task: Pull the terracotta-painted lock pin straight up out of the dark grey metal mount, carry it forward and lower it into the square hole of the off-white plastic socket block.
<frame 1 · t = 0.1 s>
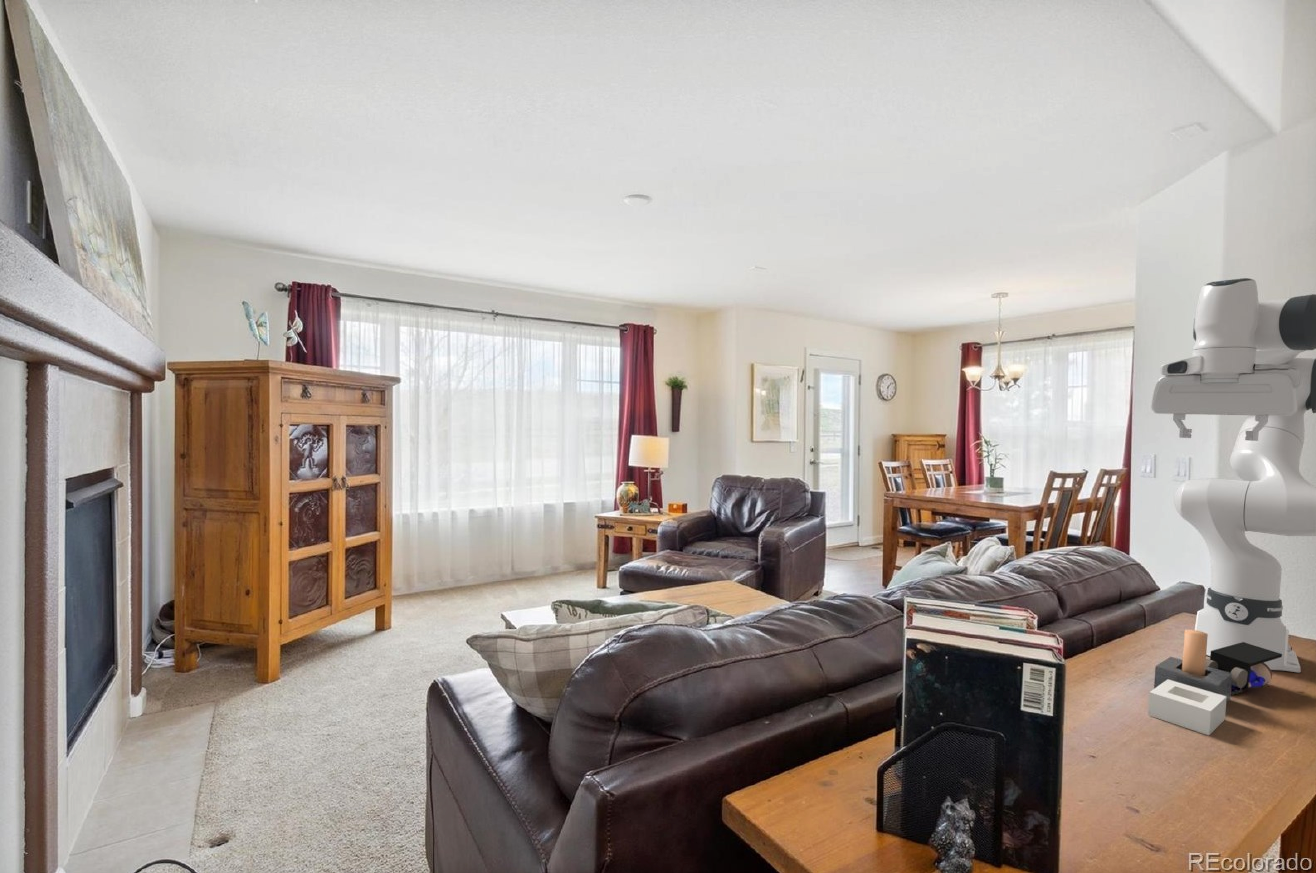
hand: (1217, 439, 116), 48 cm above the table, tool pointing down, fingers open, 8 cm apart
mount: (1191, 696, 114), on the table
socket block: (1186, 717, 106), on the table
lock pin: (1193, 664, 114), in the mount
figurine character: (1239, 689, 120), on the table
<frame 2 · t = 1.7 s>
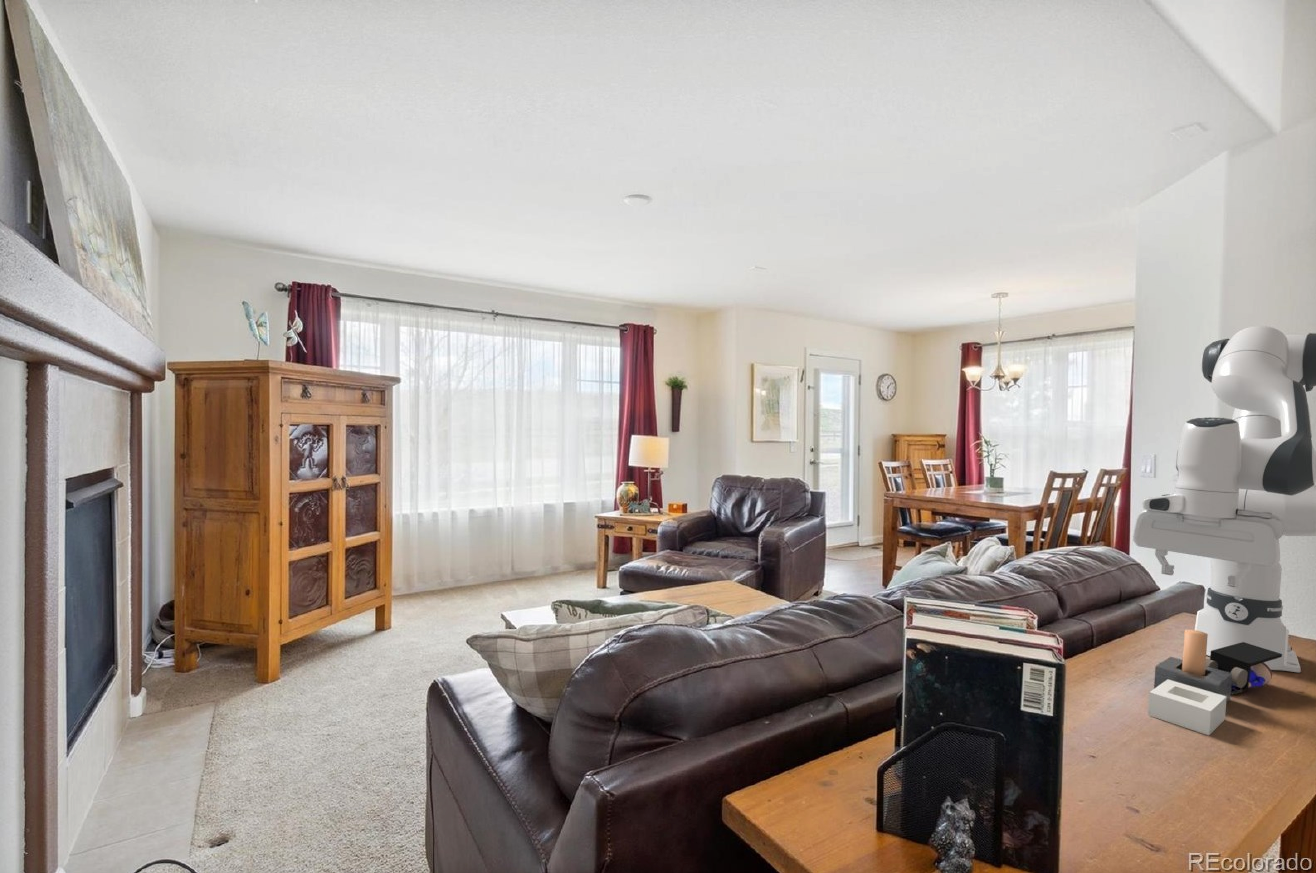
hand: (1199, 580, 114), 22 cm above the table, tool pointing down, fingers open, 8 cm apart
nothing on the table moved.
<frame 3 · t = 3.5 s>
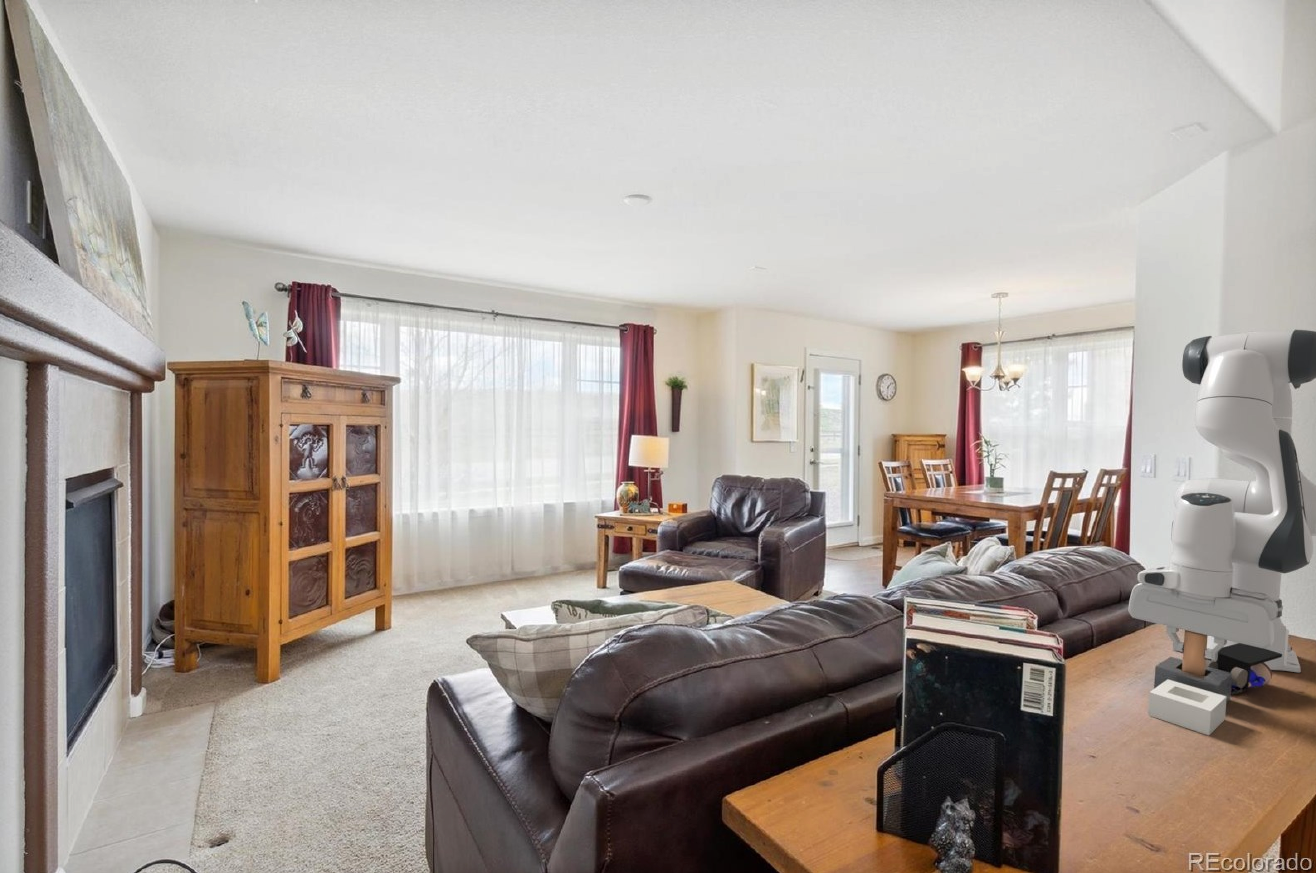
hand: (1194, 655, 114), 8 cm above the table, tool pointing down, fingers closed on lock pin, 3 cm apart
lock pin: (1193, 664, 114), in the mount, touching gripper
everything else where it was.
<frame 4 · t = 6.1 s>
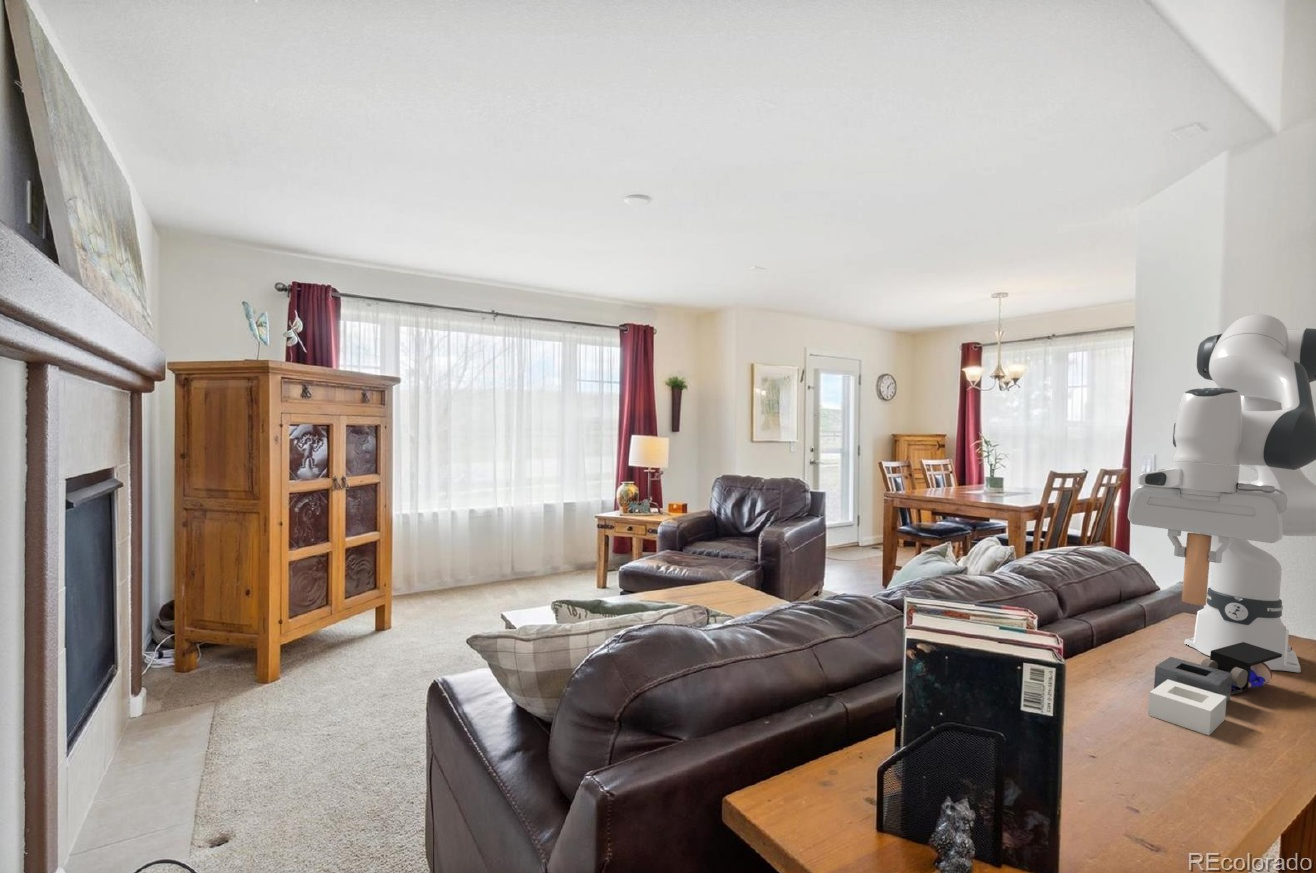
hand: (1197, 559, 108), 27 cm above the table, tool pointing down, fingers closed on lock pin, 3 cm apart
lock pin: (1196, 568, 108), point 25 cm above the table, touching gripper
everything else where it was.
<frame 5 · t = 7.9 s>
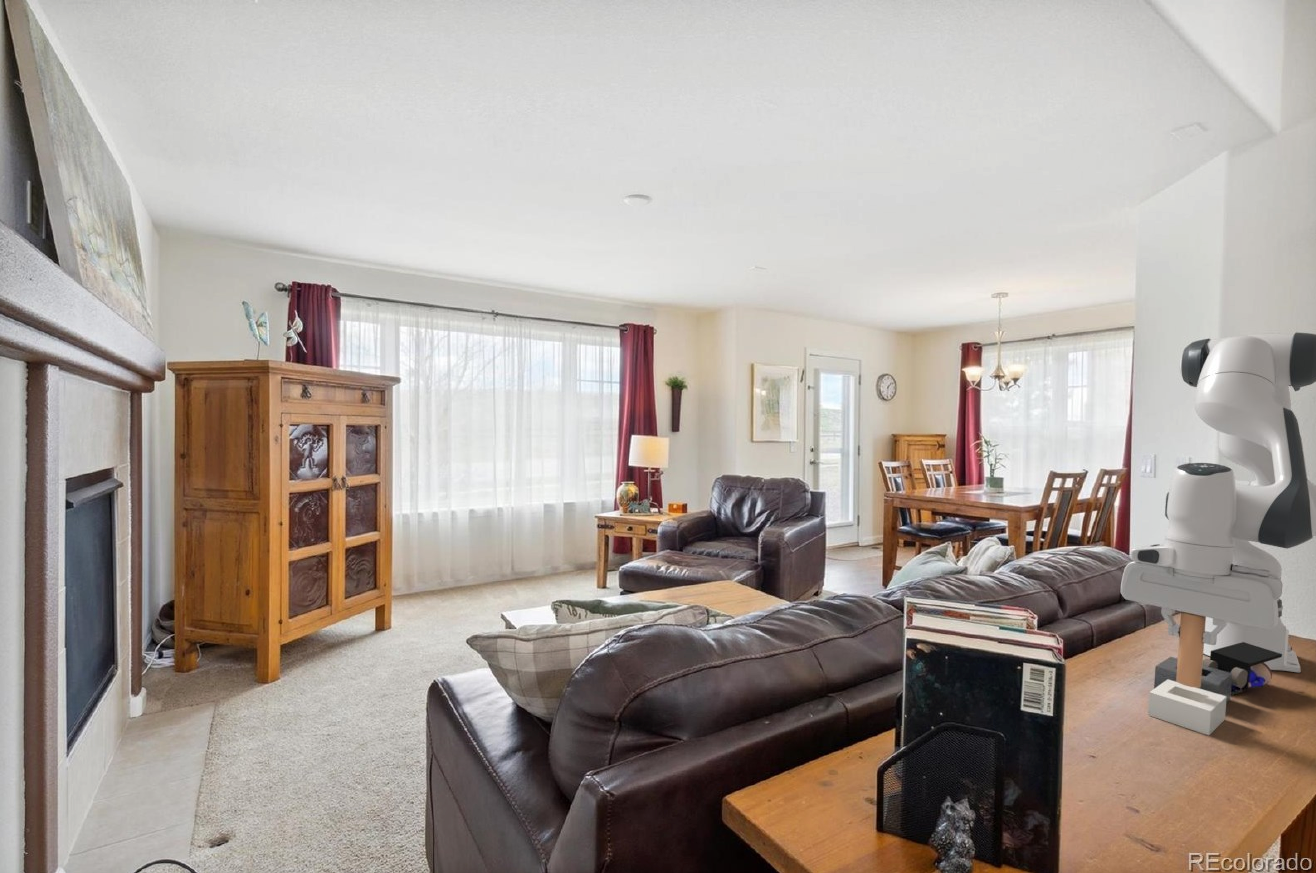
hand: (1191, 639, 105), 14 cm above the table, tool pointing down, fingers closed on lock pin, 3 cm apart
lock pin: (1190, 648, 105), point 12 cm above the table, touching gripper
everything else where it was.
when the fingers open (9 cm above the table, at t = 9.0 s): lock pin drops 1 cm, resting in socket block.
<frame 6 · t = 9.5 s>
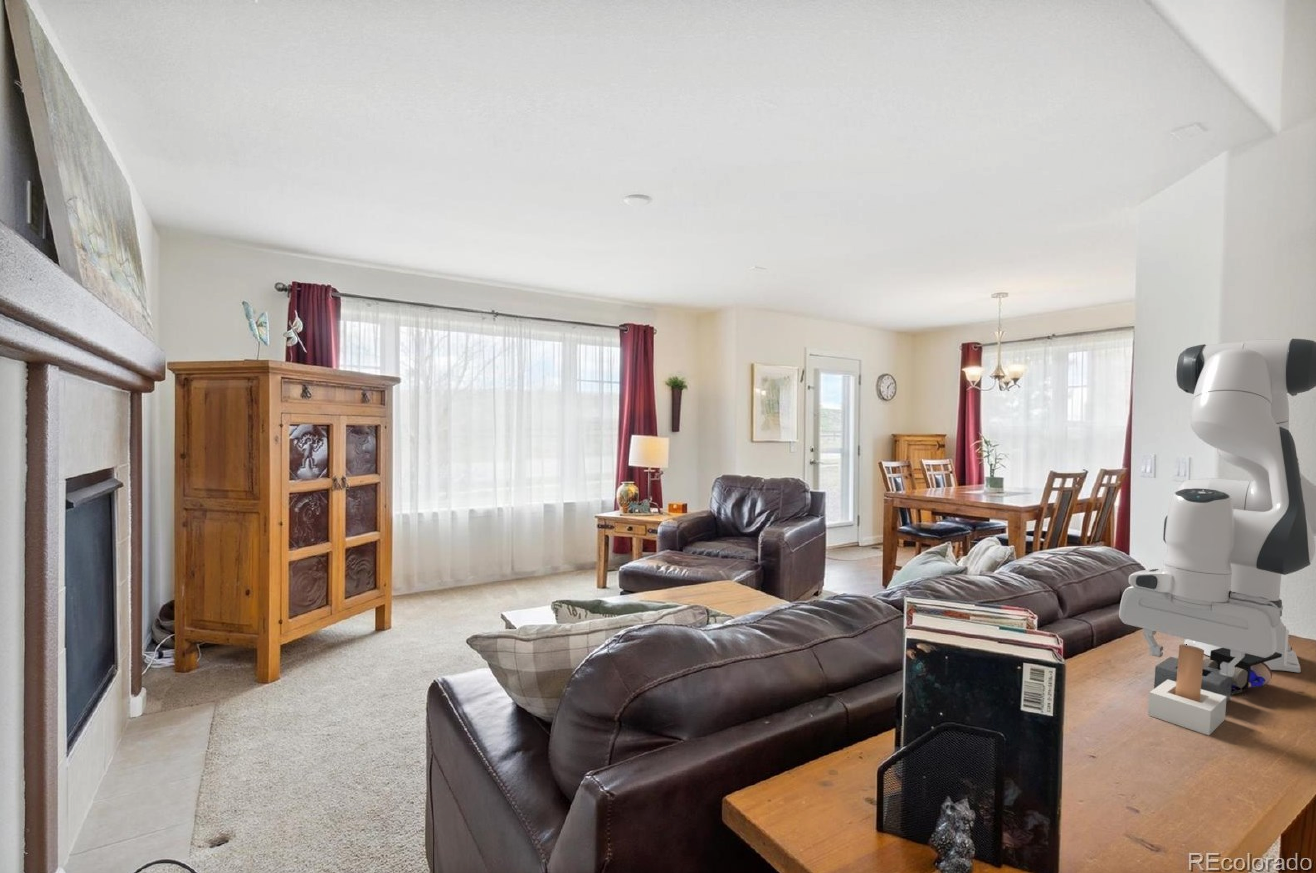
hand: (1190, 665, 105), 9 cm above the table, tool pointing down, fingers open, 8 cm apart
lock pin: (1188, 682, 106), in the socket block
everything else where it was.
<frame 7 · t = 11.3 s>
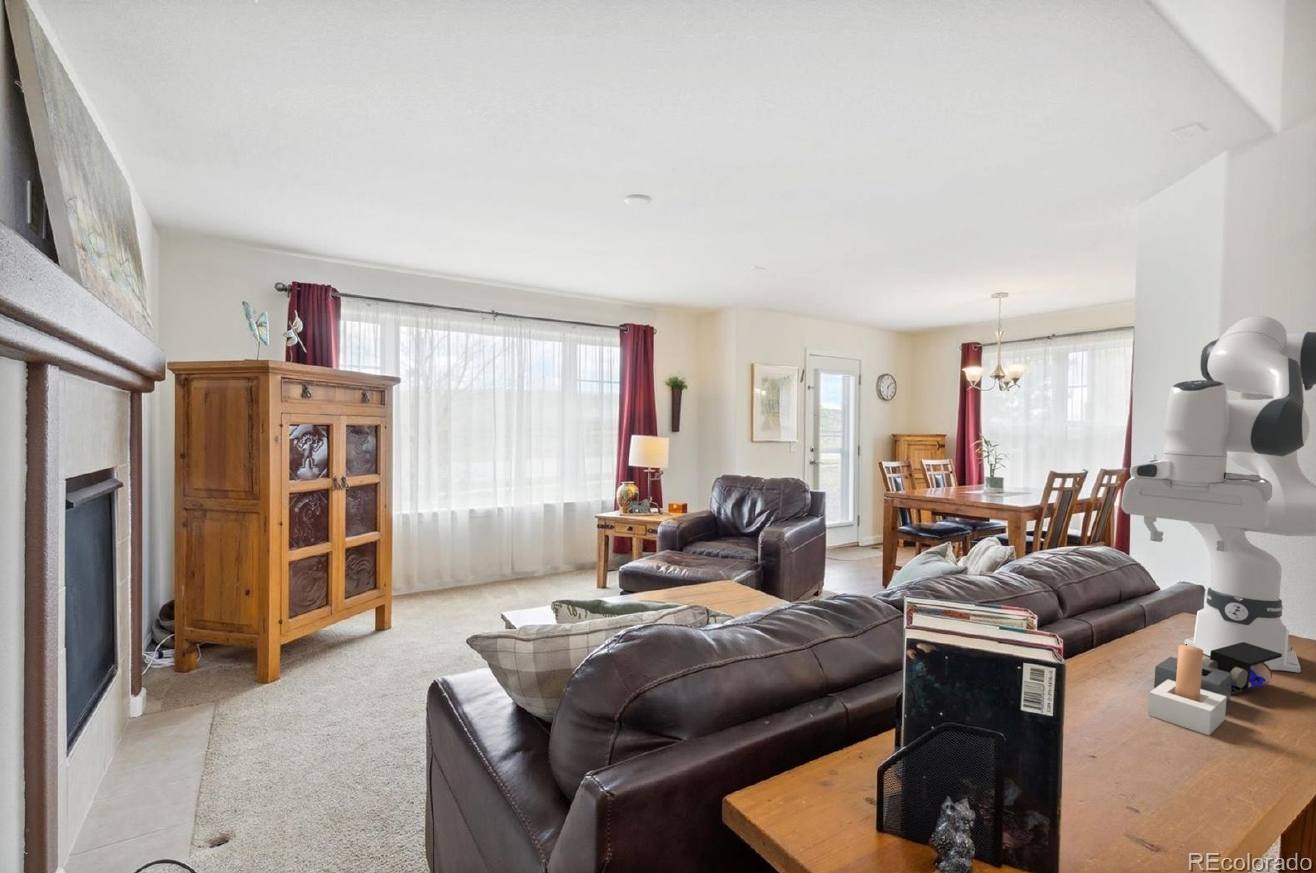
hand: (1188, 545, 112), 28 cm above the table, tool pointing down, fingers open, 8 cm apart
nothing on the table moved.
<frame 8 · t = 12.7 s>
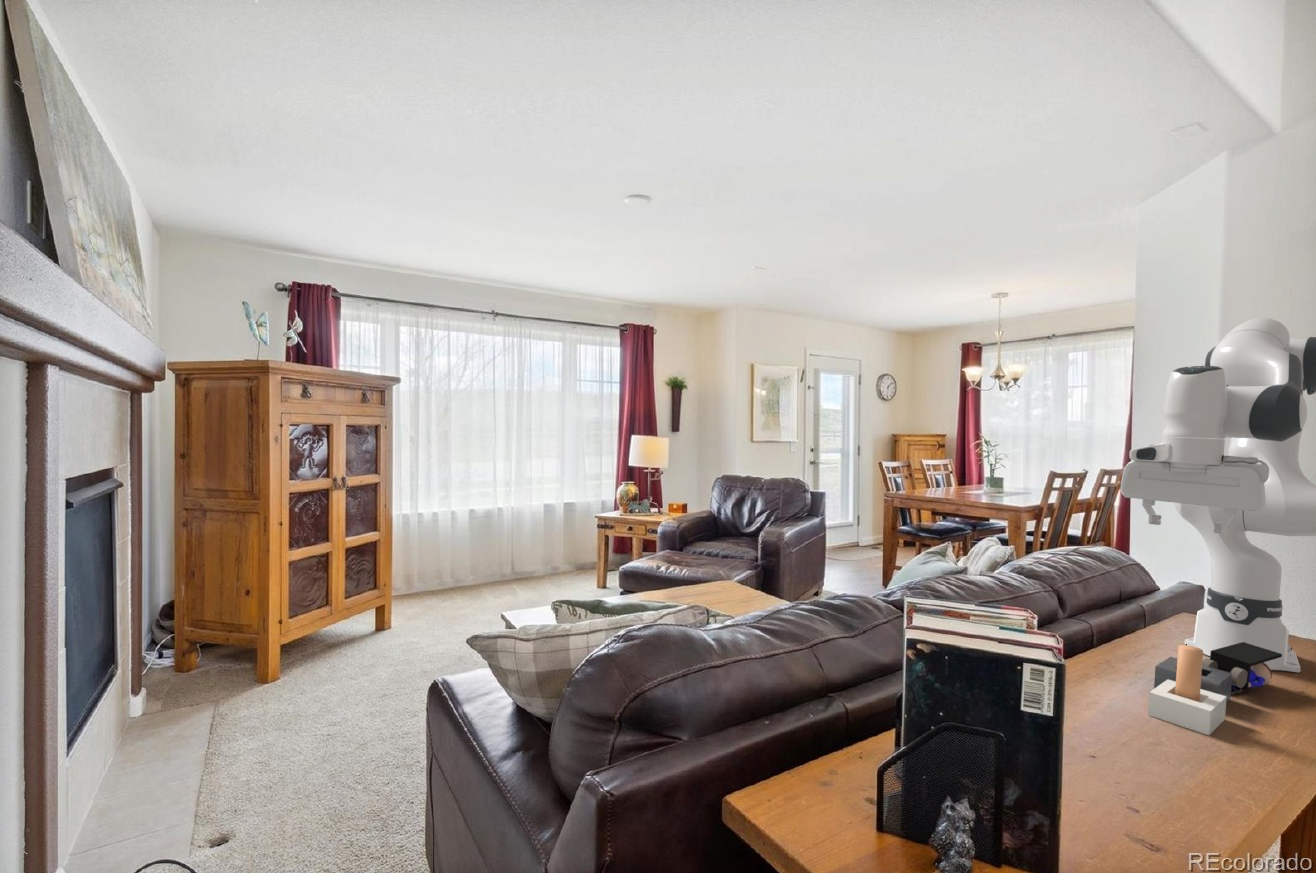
hand: (1186, 528, 114), 31 cm above the table, tool pointing down, fingers open, 8 cm apart
nothing on the table moved.
at the end: lock pin 0.1 cm off-centre on the socket block, point 6.0 cm above the socket block's base; lock pin tilted 0°; the gripper is holding nothing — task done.
